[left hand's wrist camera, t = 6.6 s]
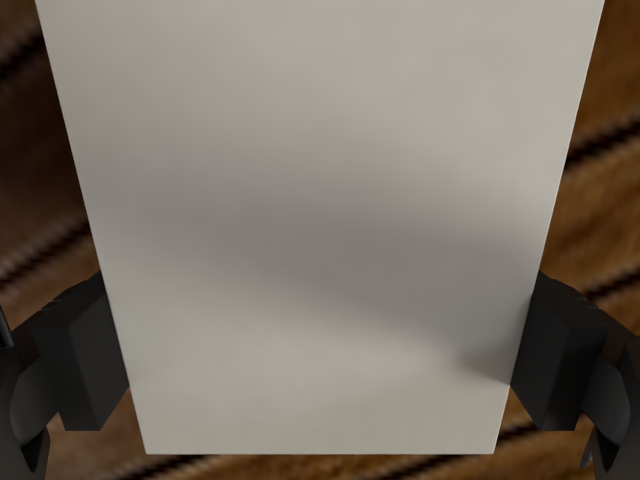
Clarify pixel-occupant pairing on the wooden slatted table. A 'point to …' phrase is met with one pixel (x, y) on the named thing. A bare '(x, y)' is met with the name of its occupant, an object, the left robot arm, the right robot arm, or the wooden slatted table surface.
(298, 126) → the cabinet
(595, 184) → the wooden slatted table surface
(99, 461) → the wooden slatted table surface
